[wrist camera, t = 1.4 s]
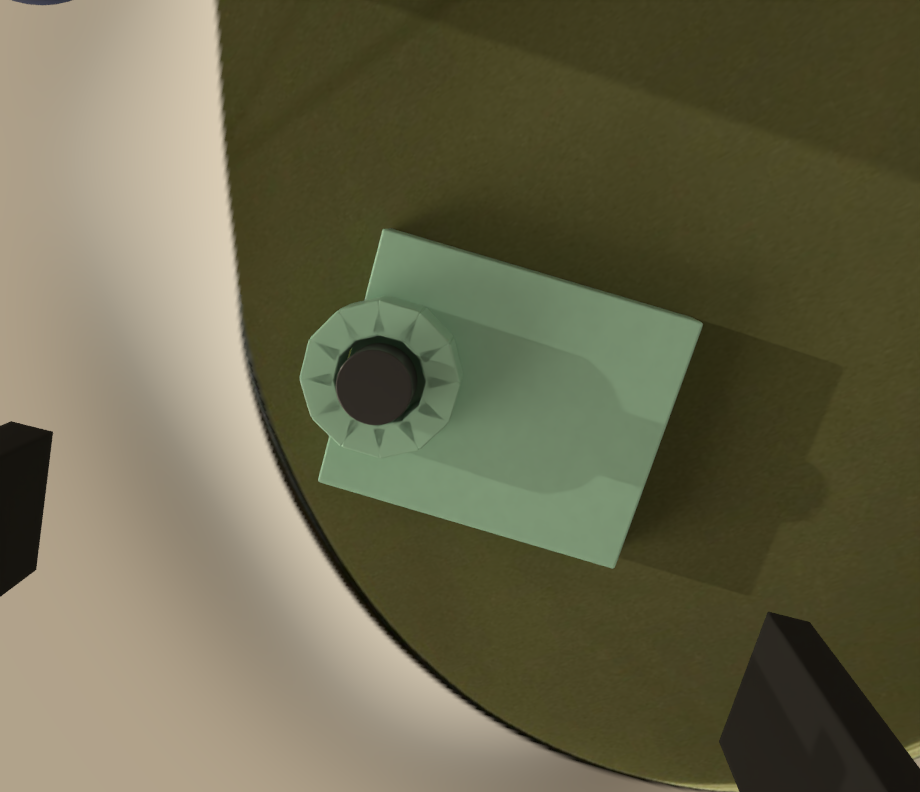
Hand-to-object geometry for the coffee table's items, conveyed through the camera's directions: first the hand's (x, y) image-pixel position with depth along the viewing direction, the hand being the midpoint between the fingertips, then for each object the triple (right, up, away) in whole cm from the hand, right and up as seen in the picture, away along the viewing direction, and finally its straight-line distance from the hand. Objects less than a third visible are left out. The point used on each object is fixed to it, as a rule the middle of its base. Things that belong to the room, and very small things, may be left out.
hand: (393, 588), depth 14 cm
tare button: (-2, +4, +13) cm, 14 cm away
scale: (+3, +3, +16) cm, 17 cm away
